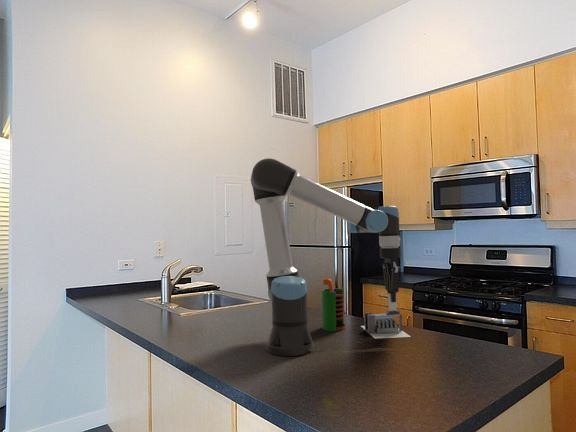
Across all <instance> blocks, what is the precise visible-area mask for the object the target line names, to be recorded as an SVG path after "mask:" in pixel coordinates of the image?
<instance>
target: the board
mask: <svg viewBox="0 0 576 432" xmlns="http://www.w3.org/2000/svg"><path fill="white" fill-rule="evenodd" d="M360 327H361V328H362V329H363V330H364V331H365V325H360ZM366 333H368V331H366ZM369 335H370V336H371V337H372V338H374V339H392V338H393V339H394V338H395V339H396V338H412V337H411V335H409V334H408V333H406V332H405V331H404V330H402V331H400V330H399V333H392V334H376V333H371V334H369Z"/></svg>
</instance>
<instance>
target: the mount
mask: <svg viewBox="0 0 576 432" xmlns="http://www.w3.org/2000/svg"><path fill="white" fill-rule="evenodd" d="M367 314H370V315H368V318H367V316H366V315H367ZM363 319H364V326H365V330H364V331H365V332H367V331H368V332H367V333H368V334H369V335H370V334H371V333H375V315H373V314H372V313H371V312H364V318H363ZM398 328H399V330H400V331H403V315H402V313H400V316H398Z"/></svg>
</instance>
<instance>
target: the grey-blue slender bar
mask: <svg viewBox="0 0 576 432" xmlns="http://www.w3.org/2000/svg"><path fill="white" fill-rule="evenodd" d="M400 314H401V313H400V311H399V310H398V309H397V311H389V310H386V311H385V313H376V314H375V313H374V314H372V315H375V318H386V317H387V318H388V317H391V318H394V317H398V318H399V316H400ZM368 315H370V314H367V315H366V316H367V318H368Z"/></svg>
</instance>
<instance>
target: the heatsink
mask: <svg viewBox="0 0 576 432" xmlns="http://www.w3.org/2000/svg"><path fill="white" fill-rule="evenodd" d="M375 333H376V334H392V333H399V326H397V320H396V319H394V317H386V318H375Z"/></svg>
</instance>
